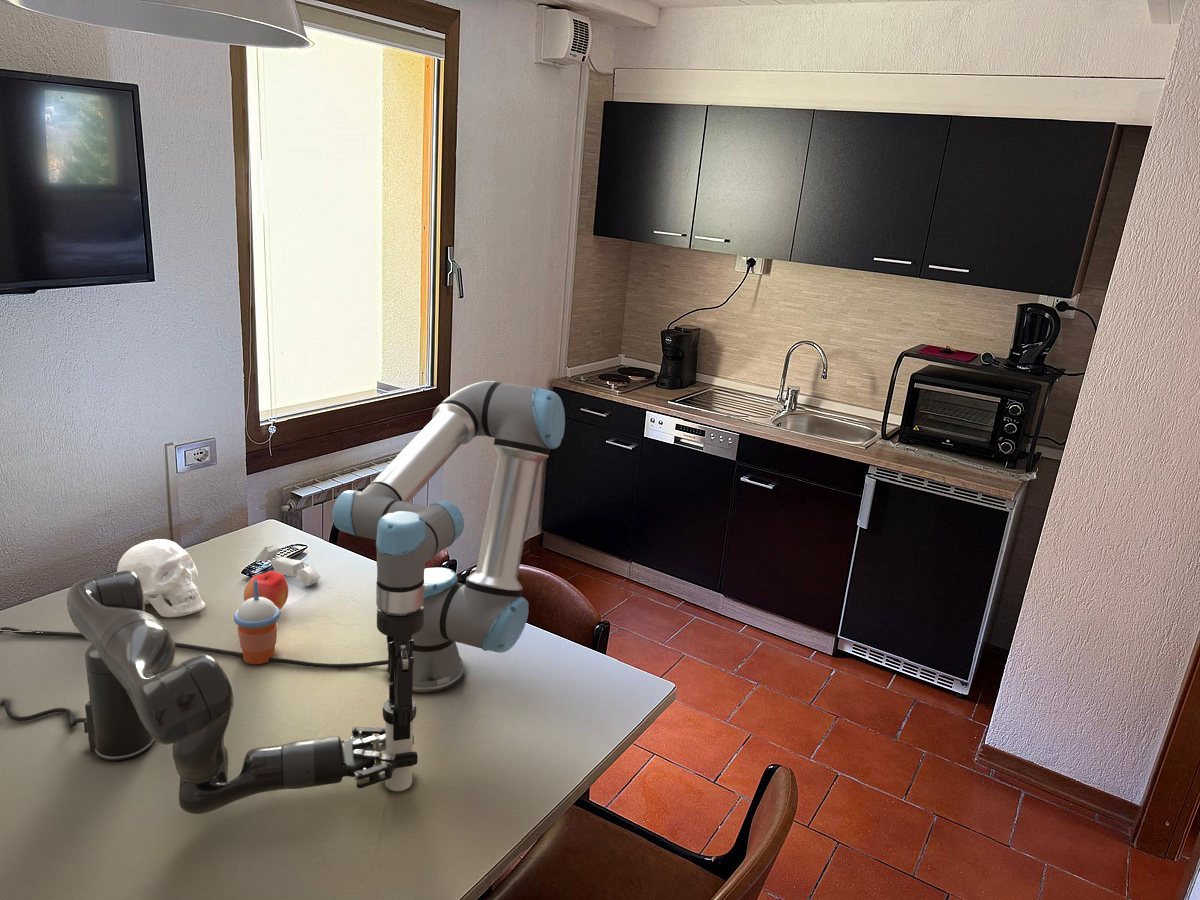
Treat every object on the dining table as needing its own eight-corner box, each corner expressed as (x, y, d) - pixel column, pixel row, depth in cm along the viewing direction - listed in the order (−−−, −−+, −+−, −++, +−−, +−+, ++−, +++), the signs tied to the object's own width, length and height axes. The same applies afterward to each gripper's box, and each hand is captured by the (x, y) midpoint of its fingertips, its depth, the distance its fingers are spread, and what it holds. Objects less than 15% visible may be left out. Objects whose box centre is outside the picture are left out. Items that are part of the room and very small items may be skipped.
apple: (273, 600, 207) (272, 562, 204) (297, 613, 202) (296, 575, 199) (237, 614, 200) (234, 575, 197) (261, 628, 194) (259, 588, 191)
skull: (183, 627, 192) (180, 562, 188) (105, 607, 198) (100, 543, 194) (224, 603, 205) (222, 542, 200) (149, 585, 210) (146, 525, 206)
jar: (414, 774, 152) (415, 699, 147) (409, 791, 147) (410, 715, 143) (388, 773, 151) (388, 698, 147) (383, 791, 147) (383, 714, 143)
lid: (418, 706, 148) (418, 696, 148) (413, 726, 143) (413, 715, 142) (386, 705, 148) (386, 694, 147) (379, 725, 143) (380, 713, 142)
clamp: (253, 565, 223) (254, 542, 221) (265, 560, 226) (266, 537, 224) (309, 593, 215) (310, 569, 213) (320, 588, 218) (321, 564, 216)
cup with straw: (266, 671, 178) (262, 594, 173) (227, 664, 180) (222, 586, 174) (290, 650, 187) (287, 575, 181) (252, 643, 188) (248, 568, 183)
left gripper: (312, 771, 135) (421, 755, 141) (310, 718, 148) (410, 706, 154) (313, 810, 137) (420, 793, 143) (311, 755, 150) (410, 741, 156)
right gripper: (432, 631, 132) (429, 758, 139) (415, 579, 149) (414, 694, 156) (382, 636, 130) (382, 765, 137) (371, 582, 146) (371, 700, 153)
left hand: (414, 748), depth 148 cm, fingers closed on jar, 4 cm apart
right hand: (399, 727), depth 146 cm, fingers closed on lid, 5 cm apart
